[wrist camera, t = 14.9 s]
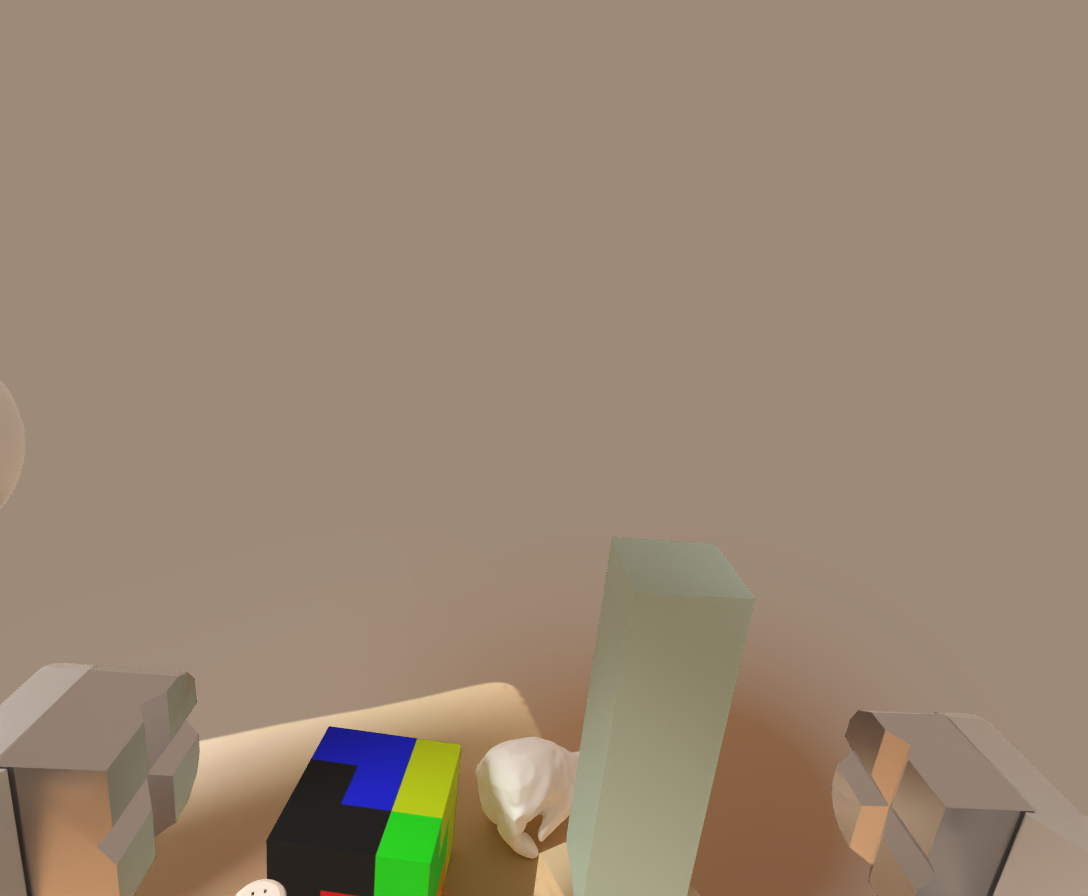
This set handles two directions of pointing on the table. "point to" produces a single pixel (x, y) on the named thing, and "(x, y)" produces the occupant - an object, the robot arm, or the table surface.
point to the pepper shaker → (263, 888)
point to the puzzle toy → (368, 818)
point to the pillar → (654, 716)
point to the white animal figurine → (526, 788)
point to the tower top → (561, 874)
